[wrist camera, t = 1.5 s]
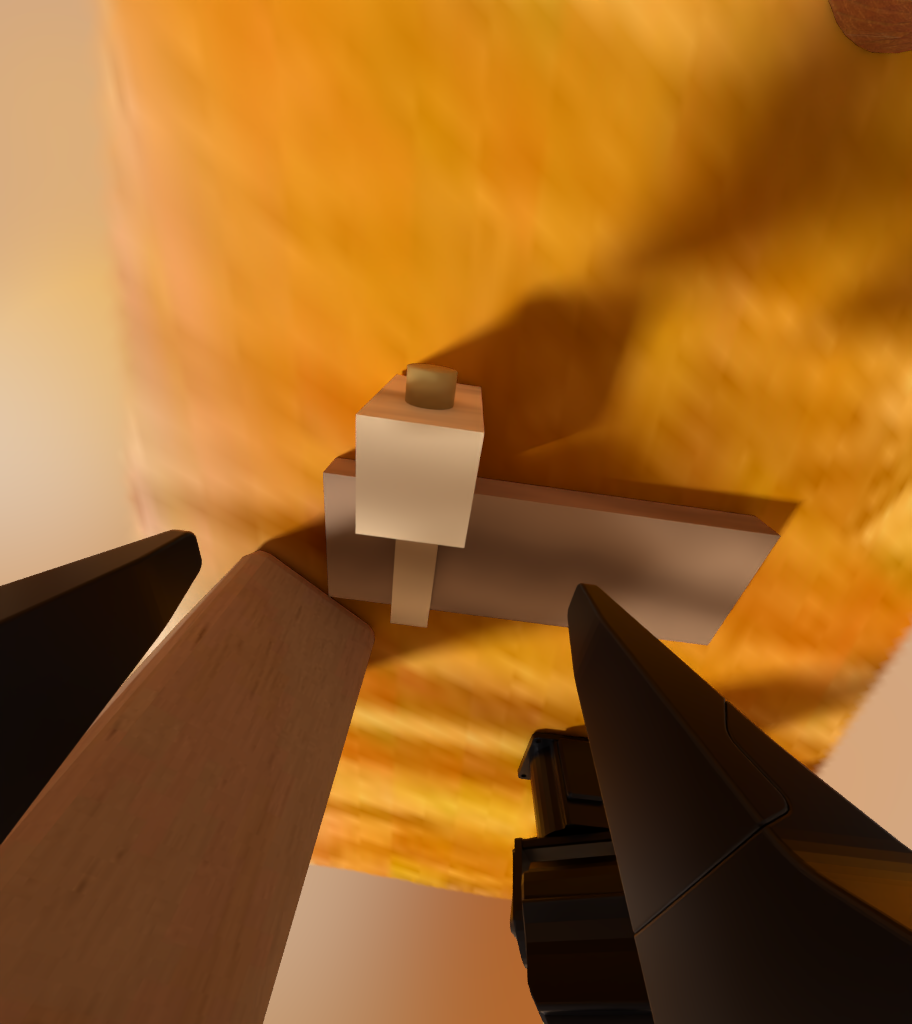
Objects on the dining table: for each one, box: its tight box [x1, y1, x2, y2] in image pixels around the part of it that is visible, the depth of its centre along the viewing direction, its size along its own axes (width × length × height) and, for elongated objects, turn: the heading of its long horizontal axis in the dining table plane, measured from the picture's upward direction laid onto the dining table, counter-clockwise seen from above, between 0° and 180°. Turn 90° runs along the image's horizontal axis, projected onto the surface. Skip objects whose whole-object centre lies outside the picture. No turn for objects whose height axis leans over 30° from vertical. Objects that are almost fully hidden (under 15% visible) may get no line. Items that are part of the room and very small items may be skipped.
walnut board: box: [323, 458, 780, 645], centre depth 22 cm, size 8×23×2 cm, turn 82°
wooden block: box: [0, 550, 375, 1024], centre depth 18 cm, size 10×10×20 cm
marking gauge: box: [356, 364, 484, 628], centre depth 17 cm, size 13×4×7 cm, turn 172°
